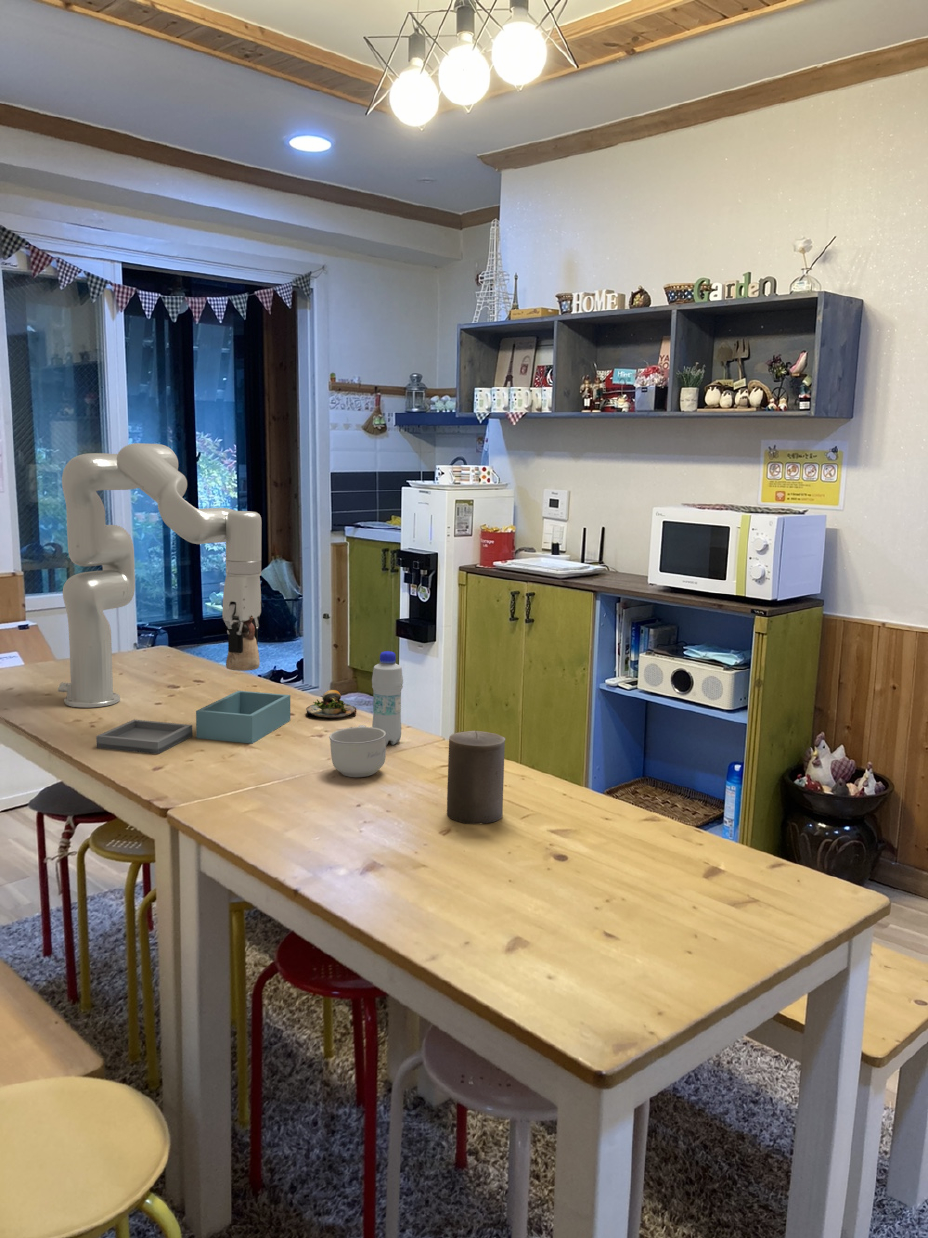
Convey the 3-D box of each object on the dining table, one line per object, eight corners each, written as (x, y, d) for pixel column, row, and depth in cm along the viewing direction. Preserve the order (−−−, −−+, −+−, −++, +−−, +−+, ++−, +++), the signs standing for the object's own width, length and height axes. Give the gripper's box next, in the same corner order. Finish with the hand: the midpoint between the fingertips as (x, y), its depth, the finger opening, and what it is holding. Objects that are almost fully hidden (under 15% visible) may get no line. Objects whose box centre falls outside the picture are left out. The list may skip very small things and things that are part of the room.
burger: (298, 719, 231) (298, 688, 230) (317, 707, 243) (317, 677, 242) (346, 724, 229) (346, 692, 227) (363, 711, 240) (363, 681, 239)
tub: (196, 738, 213) (195, 710, 212) (238, 715, 232) (238, 690, 231) (252, 743, 210) (252, 716, 209) (290, 720, 229) (290, 695, 228)
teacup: (376, 784, 186) (376, 742, 185) (321, 778, 189) (321, 738, 187) (396, 762, 200) (396, 724, 199) (344, 757, 202) (344, 719, 201)
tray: (96, 747, 204) (96, 736, 204) (134, 730, 217) (133, 719, 217) (158, 754, 201) (157, 742, 200) (192, 736, 214) (192, 725, 214)
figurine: (245, 662, 224) (246, 610, 222) (266, 667, 220) (266, 614, 218) (219, 667, 219) (219, 613, 217) (240, 672, 214) (240, 617, 212)
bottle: (400, 747, 210) (402, 654, 207) (369, 746, 210) (370, 653, 207) (403, 738, 217) (404, 648, 214) (372, 737, 217) (373, 647, 214)
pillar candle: (455, 826, 166) (457, 739, 163) (440, 806, 175) (442, 724, 173) (510, 822, 168) (513, 737, 166) (493, 803, 178) (496, 722, 175)
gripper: (245, 563, 225) (245, 641, 228) (208, 571, 208) (208, 655, 211) (276, 565, 223) (275, 643, 226) (241, 573, 206) (241, 658, 209)
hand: (243, 648), depth 218 cm, fingers closed on figurine, 6 cm apart
